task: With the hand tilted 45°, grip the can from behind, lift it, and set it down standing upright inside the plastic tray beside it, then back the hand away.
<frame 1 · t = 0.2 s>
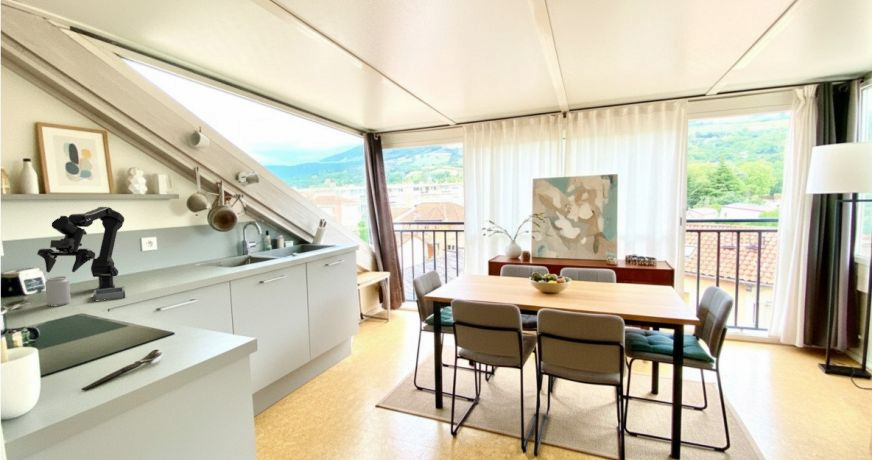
hand: (60, 272, 165), 15 cm above the table, fingers open, 9 cm apart
tray: (109, 297, 180), on the table
can: (59, 304, 168), on the table
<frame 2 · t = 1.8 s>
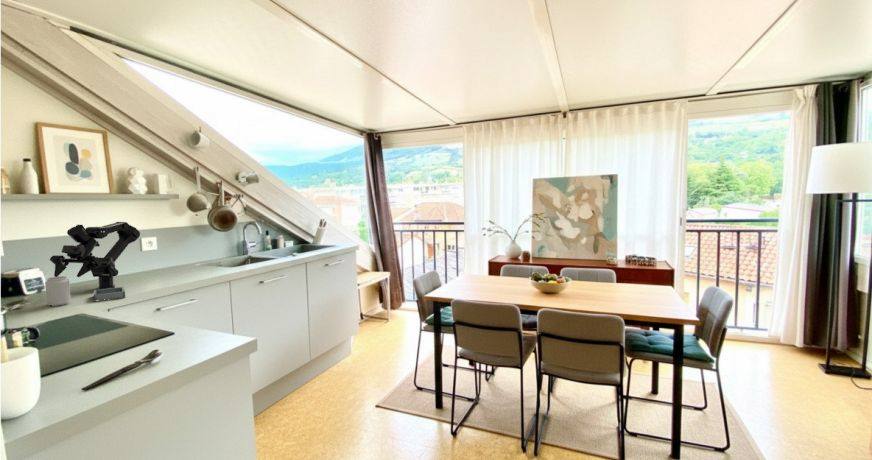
hand: (66, 276, 171), 11 cm above the table, fingers open, 9 cm apart
nothing on the table moved.
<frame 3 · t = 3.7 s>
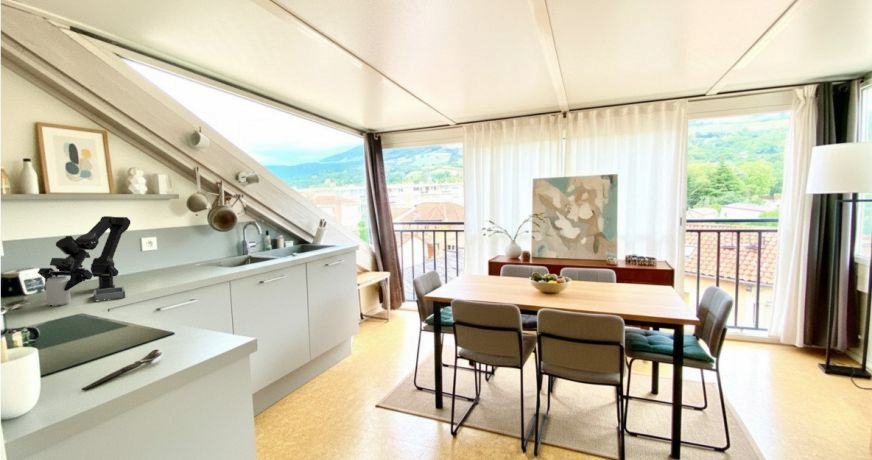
hand: (55, 290, 166), 7 cm above the table, fingers closed on can, 7 cm apart
can: (59, 304, 168), on the table, touching gripper
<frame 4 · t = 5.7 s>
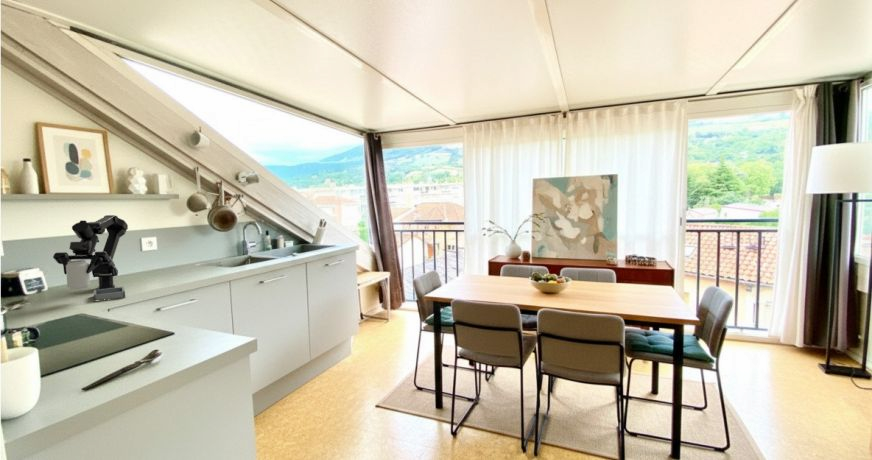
hand: (76, 273, 169), 13 cm above the table, fingers closed on can, 7 cm apart
can: (79, 287, 171), point 7 cm above the table, touching gripper
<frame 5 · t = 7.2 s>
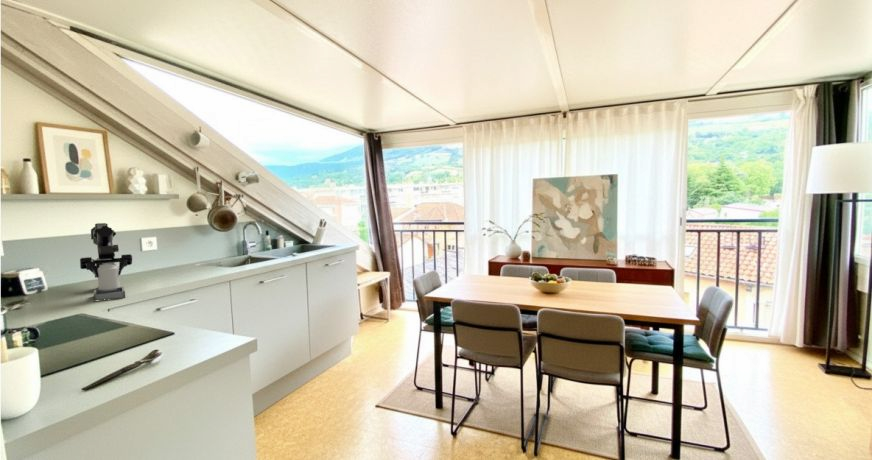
hand: (108, 276, 179), 10 cm above the table, fingers closed on can, 7 cm apart
can: (109, 289, 180), point 3 cm above the table, touching gripper
when the fingers open (8 cm above the table, at t = 8.2 s): can drops 1 cm, resting on tray.
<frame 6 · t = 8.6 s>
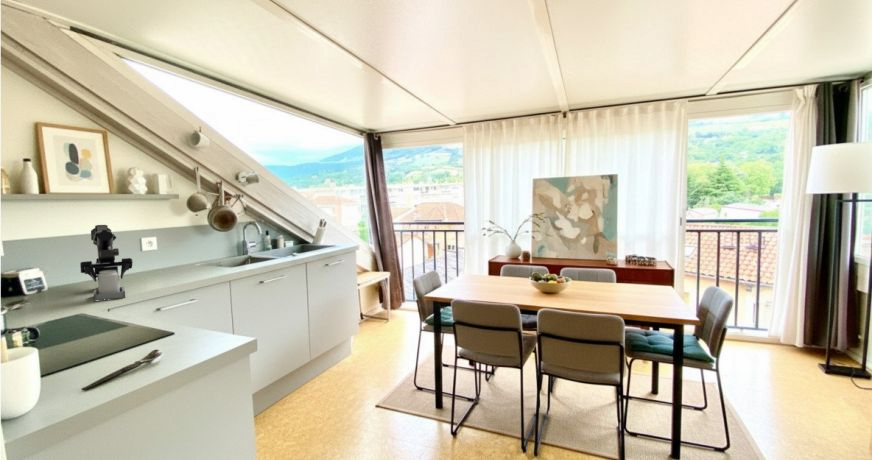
hand: (108, 279, 179), 9 cm above the table, fingers open, 9 cm apart
can: (109, 296, 181), resting on tray
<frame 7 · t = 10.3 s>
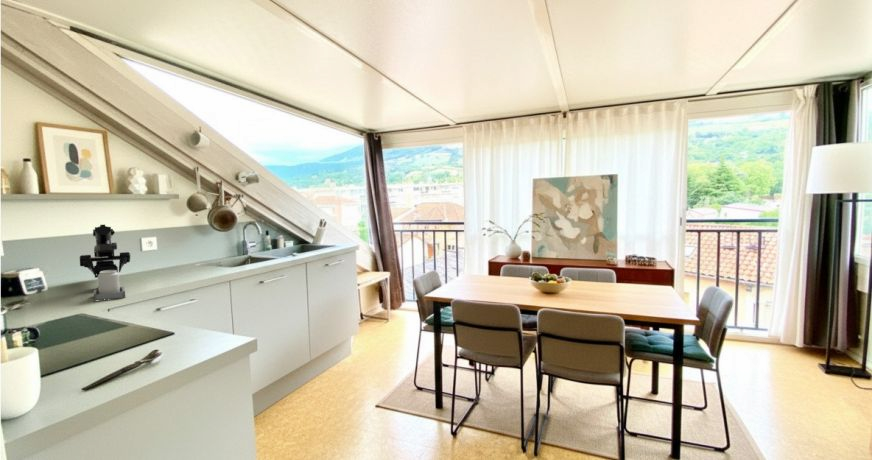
hand: (107, 272, 184), 10 cm above the table, fingers open, 9 cm apart
nothing on the table moved.
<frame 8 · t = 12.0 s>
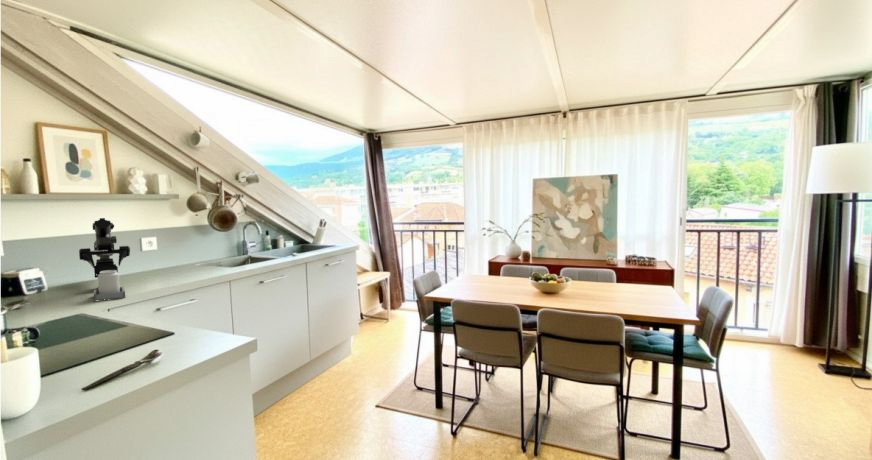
hand: (106, 266, 184), 14 cm above the table, fingers open, 9 cm apart
nothing on the table moved.
at the end: can 0.2 cm off-centre on the tray, point 0.3 cm above the tray's base; can tilted 0°; the gripper is holding nothing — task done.
